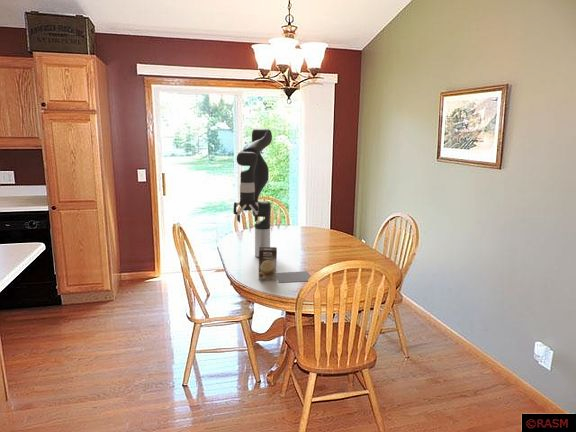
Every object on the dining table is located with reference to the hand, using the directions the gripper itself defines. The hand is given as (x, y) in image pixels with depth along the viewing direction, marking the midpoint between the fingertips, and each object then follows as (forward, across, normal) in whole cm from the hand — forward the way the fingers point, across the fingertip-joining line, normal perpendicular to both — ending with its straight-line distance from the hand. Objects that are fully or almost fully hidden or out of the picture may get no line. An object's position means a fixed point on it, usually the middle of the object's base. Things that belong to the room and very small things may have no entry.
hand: (247, 221), depth 215 cm
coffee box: (+28, -9, +11) cm, 31 cm away
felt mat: (+28, -23, +12) cm, 38 cm away
